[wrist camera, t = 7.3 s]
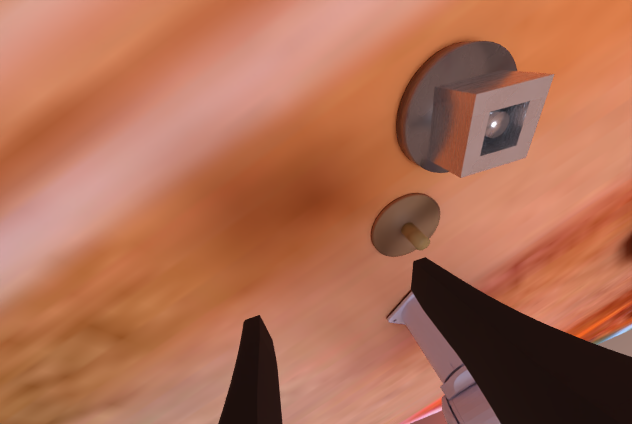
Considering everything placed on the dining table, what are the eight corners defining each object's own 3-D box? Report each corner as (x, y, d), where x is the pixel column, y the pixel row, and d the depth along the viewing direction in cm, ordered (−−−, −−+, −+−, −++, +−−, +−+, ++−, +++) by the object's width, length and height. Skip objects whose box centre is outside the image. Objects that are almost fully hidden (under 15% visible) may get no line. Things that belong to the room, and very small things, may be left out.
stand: (450, 207, 25) (472, 224, 23) (406, 259, 28) (422, 279, 26) (402, 182, 22) (423, 198, 20) (357, 244, 25) (371, 265, 22)
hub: (519, 85, 20) (582, 93, 17) (444, 180, 23) (483, 204, 20) (455, 10, 16) (521, -2, 12) (374, 138, 19) (407, 159, 15)
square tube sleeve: (501, 70, 17) (554, 74, 15) (485, 142, 20) (525, 157, 18) (434, 86, 17) (476, 94, 14) (427, 159, 20) (460, 177, 17)
